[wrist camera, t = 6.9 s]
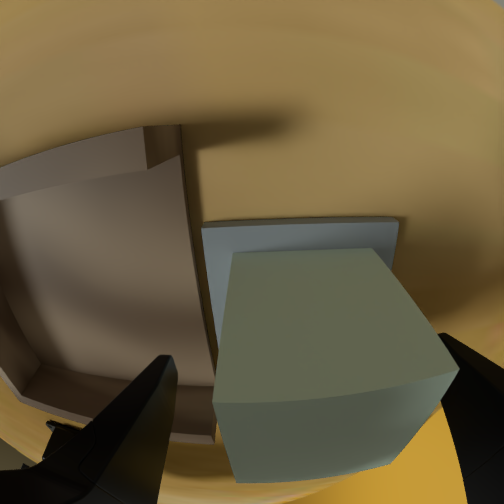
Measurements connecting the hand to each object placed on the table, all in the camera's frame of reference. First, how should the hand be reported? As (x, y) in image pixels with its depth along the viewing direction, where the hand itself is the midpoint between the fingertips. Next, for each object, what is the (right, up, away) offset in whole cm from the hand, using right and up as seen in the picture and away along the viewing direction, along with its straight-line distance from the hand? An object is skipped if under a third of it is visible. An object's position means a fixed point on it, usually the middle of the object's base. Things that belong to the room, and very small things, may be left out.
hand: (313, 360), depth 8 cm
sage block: (0, +1, +2) cm, 3 cm away
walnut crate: (-11, +1, +3) cm, 11 cm away
